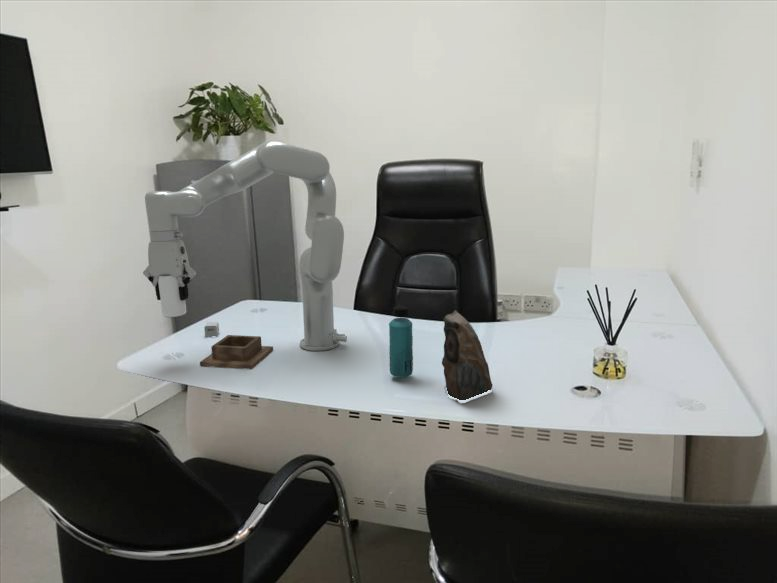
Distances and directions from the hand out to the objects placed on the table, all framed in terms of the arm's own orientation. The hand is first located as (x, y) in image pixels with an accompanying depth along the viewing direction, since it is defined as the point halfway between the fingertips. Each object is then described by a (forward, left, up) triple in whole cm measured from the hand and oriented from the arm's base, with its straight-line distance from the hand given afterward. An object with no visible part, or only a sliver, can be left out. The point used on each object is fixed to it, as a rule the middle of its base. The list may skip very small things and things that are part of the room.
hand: (172, 298), depth 154 cm
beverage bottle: (-66, 0, -20) cm, 69 cm away
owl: (-84, +7, -20) cm, 86 cm away
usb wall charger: (+4, -28, -20) cm, 35 cm away
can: (0, 0, -5) cm, 5 cm away
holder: (-15, -8, -20) cm, 26 cm away
